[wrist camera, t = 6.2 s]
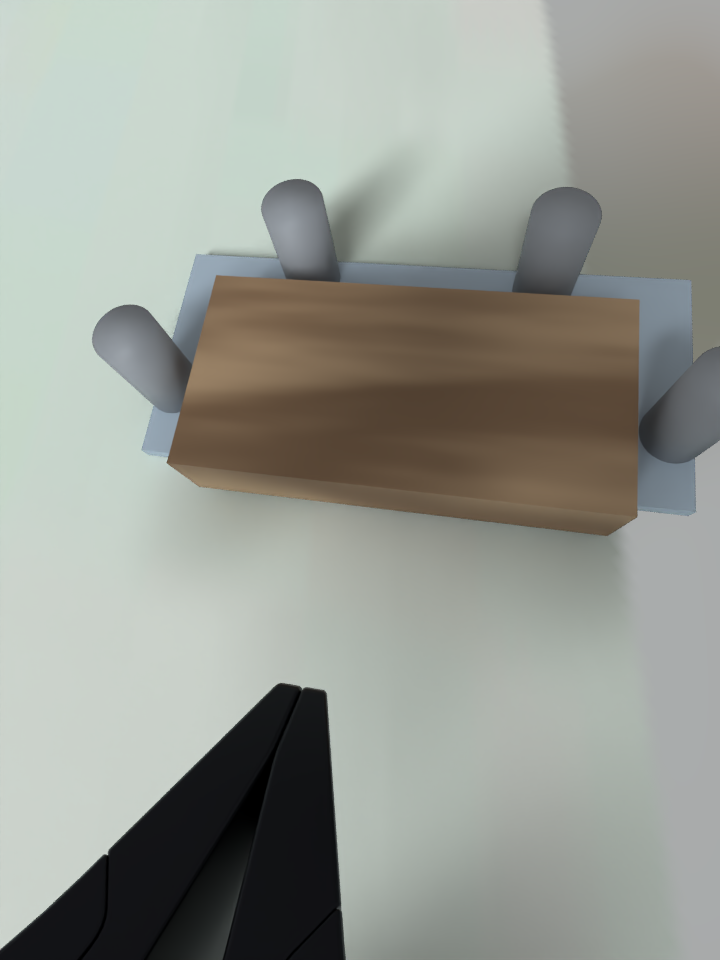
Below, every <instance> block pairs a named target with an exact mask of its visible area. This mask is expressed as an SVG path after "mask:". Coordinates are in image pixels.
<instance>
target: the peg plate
mask: <svg viewBox="0 0 720 960" xmlns="http://www.w3.org/2000/svg"><path fill="white" fill-rule="evenodd" d="M261 212H262V216H263V218H264V221H265V224H266V226H267V229H268V232H269V234H270V237H271V240H272V242H273V245H274V248H275V250H276V253H277V256H278V258H279V259H278V258H259V257H239V256H220V255H201V254H196V257H195V260H194V264H193V267H192V271H191V274H190V278H189V282H188V285H187V289H186V292H185V296H184V300H183V303H182V307H181V310H180V314H179V317H178V321H177V325H176V328H175V332H174V335H173V339H171V338H170V337H169V336H168V334H167V333H166V332H165V331H164V329H163V328H162V327H161V326H160V325H159V323H158V322H157V321H156V320H155V318H154V317H153V316H152V315H151V314H150V312H149V311H148V310H146V309H145V308H143V307H141V306H137V305H123V306H119V307H116V308H114V309H112V310H110V311H109V312H107V313H106V314H105V315H104V316H103V317H102V318H101V319H100V320H99V322H98V323H97V325H96V327H95V329H94V332H93V337H92V343H93V347H94V349H95V351H96V353H97V354H98V355H99V356H100V357H101V358H102V359H103V360H104V361H105V362H106V363H108V364H109V365H110V366H111V367H112V368H113V369H114V370H115V371H116V372H118V373H119V374H120V375H121V376H122V377H123V378H124V379H125V380H126V381H128V382H129V383H130V384H131V385H132V386H133V387H134V388H135V389H136V390H138V391H139V392H140V393H141V394H142V395H143V396H144V397H145V398H146V399H148V400H149V401H150V402H151V403H152V404H153V405H154V407H153V410H152V414H151V418H150V421H149V425H148V428H147V432H146V435H145V439H144V443H143V446H142V451H144V452H145V453H147V454H148V455H155V456H164V457H168V456H169V452H170V448H171V445H172V441H173V437H174V433H175V429H176V426H177V422H178V418H179V414H180V411H181V407H182V403H183V399H184V395H185V392H186V388H187V384H188V380H189V376H190V373H191V369H192V365H193V361H194V357H195V354H196V350H197V346H198V342H199V338H200V335H201V331H202V327H203V323H204V319H205V316H206V312H207V308H208V304H209V300H210V297H211V293H212V289H213V285H214V282H215V278H216V275H222V276H239V277H257V278H274V279H291V280H309V281H326V282H343V283H361V284H378V285H395V286H413V287H430V288H447V289H465V290H482V291H499V292H516V293H534V294H551V295H568V296H586V297H603V298H620V299H638V300H640V307H639V403H638V499H637V510H642V511H650V512H658V513H667V514H677V515H685V516H689V515H691V514H693V513H695V512H696V498H695V457H697V456H698V455H700V454H701V453H702V452H704V451H705V450H707V449H708V448H710V447H711V446H712V445H714V444H715V443H717V442H718V441H719V440H720V347H715V348H712V349H710V350H708V351H706V352H705V353H703V354H702V355H701V356H700V357H699V358H698V359H697V360H696V361H695V362H694V363H693V347H692V346H693V345H692V294H691V280H679V279H659V278H641V277H621V276H601V275H583V274H580V272H581V269H582V267H583V264H584V262H585V259H586V257H587V254H588V252H589V250H590V247H591V245H592V242H593V240H594V237H595V235H596V233H597V230H598V228H599V225H600V223H601V219H602V211H601V208H600V205H599V203H598V202H597V200H596V199H595V198H594V197H593V196H591V195H590V194H589V193H587V192H585V191H583V190H581V189H577V188H572V187H561V188H555V189H552V190H549V191H547V192H545V193H544V194H542V195H541V196H540V197H539V198H538V199H537V200H536V201H535V203H534V205H533V207H532V210H531V214H530V218H529V222H528V226H527V230H526V235H525V239H524V243H523V247H522V251H521V255H520V259H519V264H518V268H517V271H507V270H488V269H469V268H450V267H430V266H411V265H392V264H373V263H354V262H337V257H336V253H335V249H334V244H333V240H332V235H331V231H330V226H329V222H328V218H327V213H326V209H325V204H324V200H323V196H322V193H321V191H320V189H319V188H318V187H317V186H316V185H314V184H313V183H311V182H309V181H306V180H301V179H293V180H287V181H284V182H281V183H279V184H277V185H276V186H274V187H273V188H272V189H270V190H269V191H268V193H267V194H266V195H265V197H264V199H263V201H262V206H261Z"/></svg>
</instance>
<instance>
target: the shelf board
mask: <svg viewBox="0 0 720 960" xmlns="http://www.w3.org/2000/svg"><path fill="white" fill-rule="evenodd" d="M639 307H640V300H638V299H620V298H603V297H586V296H568V295H551V294H534V293H516V292H499V291H482V290H465V289H447V288H430V287H413V286H395V285H378V284H361V283H343V282H326V281H309V280H291V279H274V278H257V277H239V276H222V275H216V278H215V282H214V285H213V289H212V293H211V297H210V300H209V304H208V308H207V312H206V316H205V319H204V323H203V327H202V331H201V335H200V338H199V342H198V346H197V350H196V354H195V357H194V361H193V365H192V369H191V373H190V376H189V380H188V384H187V388H186V392H185V395H184V399H183V403H182V407H181V411H180V414H179V418H178V422H177V426H176V429H175V433H174V437H173V441H172V445H171V448H170V452H169V456H168V460H167V464H169V465H170V466H171V467H173V468H174V469H176V470H177V471H178V472H180V473H181V474H182V475H184V476H185V477H187V478H188V479H189V480H191V481H192V482H194V483H195V484H196V485H198V486H199V487H206V488H215V489H223V490H231V491H240V492H248V493H256V494H264V495H273V496H281V497H289V498H298V499H306V500H314V501H322V502H331V503H339V504H347V505H356V506H364V507H372V508H380V509H389V510H397V511H405V512H414V513H422V514H430V515H439V516H447V517H455V518H463V519H472V520H480V521H488V522H497V523H505V524H513V525H521V526H530V527H538V528H546V529H555V530H563V531H571V532H579V533H588V534H596V535H604V536H608V535H609V534H611V533H613V532H614V531H616V530H617V529H619V528H621V527H622V526H624V525H625V524H627V523H629V522H630V521H632V520H633V519H635V518H637V499H638V403H639Z"/></svg>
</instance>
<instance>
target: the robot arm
mask: <svg viewBox="0 0 720 960" xmlns="http://www.w3.org/2000/svg"><path fill="white" fill-rule="evenodd" d="M0 960H346V956H345V946H344V933H343V918H342V911H341V893H340V879H339V864H338V850H337V835H336V820H335V806H334V791H333V777H332V762H331V748H330V733H329V718H328V704H327V693H326V692H325V691H324V690H320V689H314V688H309V687H305V688H303V690H302V688H301V687H300V686H297V685H291V684H286V683H279V684H277V685H276V686H275V687H274V688H273V689H272V690H271V691H270V692H269V693H267V694H266V695H265V696H264V697H263V698H262V699H261V700H260V701H259V702H258V703H257V704H256V705H255V706H254V707H253V708H252V709H251V710H250V711H249V712H248V713H247V714H246V715H245V716H244V717H243V718H242V719H241V720H240V721H239V722H238V723H237V724H236V725H235V726H234V727H233V728H232V729H231V730H230V731H229V732H228V733H227V734H226V735H225V736H224V737H223V738H222V739H221V740H220V741H219V742H218V743H217V744H216V745H215V746H214V747H213V748H212V749H211V750H210V751H209V752H208V753H207V754H206V755H205V756H204V757H203V758H201V759H200V760H199V761H198V762H197V763H196V764H195V765H194V766H193V767H192V768H191V769H190V770H189V771H188V772H187V773H186V774H185V775H184V776H183V777H182V778H181V779H180V780H179V781H178V782H177V783H176V784H175V785H174V786H173V787H172V788H171V789H170V790H169V791H168V792H167V793H166V794H165V795H164V796H163V797H162V798H161V799H160V800H159V801H158V802H157V803H156V804H155V805H154V806H153V807H152V808H151V809H150V810H149V811H148V812H147V813H146V814H145V815H144V816H143V817H142V818H141V819H140V820H138V821H137V822H136V823H135V824H134V825H133V826H132V827H131V828H130V829H129V830H128V831H127V832H126V833H125V834H124V835H123V836H122V837H121V838H120V839H119V840H118V841H117V842H116V843H115V844H114V845H113V846H112V847H111V848H110V849H109V851H108V855H106V854H104V855H103V856H102V857H101V858H100V859H99V860H97V861H96V862H95V863H94V864H93V865H92V866H91V867H90V868H89V869H88V870H87V871H86V872H85V873H84V874H83V875H82V876H81V877H80V878H79V879H78V880H77V881H76V882H75V883H74V884H73V885H72V886H71V887H70V888H69V889H68V890H67V891H65V892H64V893H63V894H62V895H61V896H60V897H59V898H58V899H57V900H56V901H55V902H54V903H53V904H52V905H51V906H50V907H49V908H47V909H46V910H45V911H44V912H43V913H42V914H41V915H40V916H38V917H37V918H36V919H35V920H34V921H33V922H32V923H30V924H29V925H28V926H27V927H26V928H25V929H23V930H22V931H21V932H20V933H19V934H18V935H17V936H15V937H14V938H13V939H12V940H11V941H10V942H8V943H7V944H6V945H5V946H4V947H3V948H2V949H0Z"/></svg>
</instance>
